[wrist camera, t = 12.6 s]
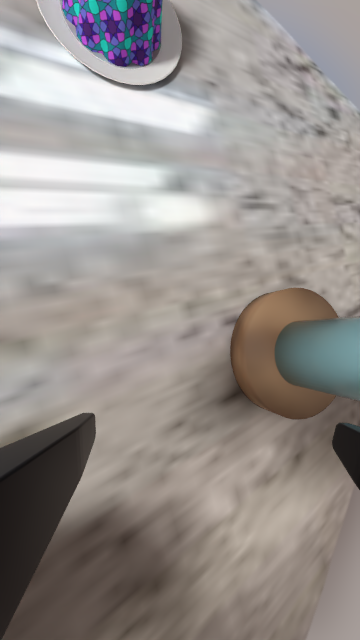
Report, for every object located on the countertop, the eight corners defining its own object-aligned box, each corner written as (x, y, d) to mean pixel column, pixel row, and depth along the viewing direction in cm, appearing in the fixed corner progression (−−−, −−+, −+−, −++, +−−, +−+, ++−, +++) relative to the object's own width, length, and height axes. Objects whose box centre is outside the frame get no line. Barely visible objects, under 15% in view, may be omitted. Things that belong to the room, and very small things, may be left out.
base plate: (324, 409, 27) (346, 416, 25) (227, 413, 23) (243, 422, 21) (326, 299, 28) (347, 296, 26) (233, 284, 24) (249, 278, 22)
